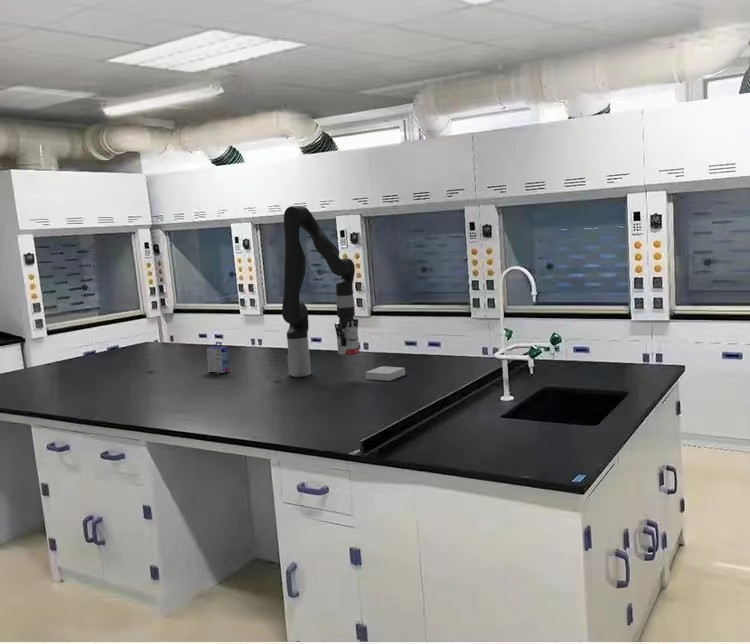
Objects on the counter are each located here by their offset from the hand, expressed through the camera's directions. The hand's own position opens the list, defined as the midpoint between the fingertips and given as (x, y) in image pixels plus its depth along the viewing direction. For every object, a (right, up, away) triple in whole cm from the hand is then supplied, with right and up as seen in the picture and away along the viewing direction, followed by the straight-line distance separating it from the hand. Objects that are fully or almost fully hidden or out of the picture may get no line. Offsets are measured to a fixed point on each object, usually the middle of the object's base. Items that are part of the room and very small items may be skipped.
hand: (348, 344), depth 315 cm
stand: (+16, -14, -1) cm, 21 cm away
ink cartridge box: (-63, -15, +36) cm, 74 cm away
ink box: (0, -4, +1) cm, 4 cm away
